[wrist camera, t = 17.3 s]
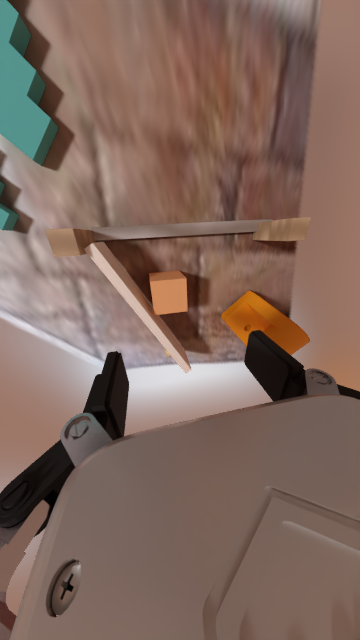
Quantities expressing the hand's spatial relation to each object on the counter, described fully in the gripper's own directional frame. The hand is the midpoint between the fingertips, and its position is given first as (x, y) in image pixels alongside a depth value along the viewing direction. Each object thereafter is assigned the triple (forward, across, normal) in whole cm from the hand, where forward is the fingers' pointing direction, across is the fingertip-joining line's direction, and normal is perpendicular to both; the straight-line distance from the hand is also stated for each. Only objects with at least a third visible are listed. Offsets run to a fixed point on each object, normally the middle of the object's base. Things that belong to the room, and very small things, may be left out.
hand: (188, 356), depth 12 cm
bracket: (+19, -17, +9) cm, 27 cm away
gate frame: (+19, -3, -8) cm, 21 cm away
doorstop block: (+19, 0, 0) cm, 19 cm away
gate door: (+18, +3, +4) cm, 18 cm away
